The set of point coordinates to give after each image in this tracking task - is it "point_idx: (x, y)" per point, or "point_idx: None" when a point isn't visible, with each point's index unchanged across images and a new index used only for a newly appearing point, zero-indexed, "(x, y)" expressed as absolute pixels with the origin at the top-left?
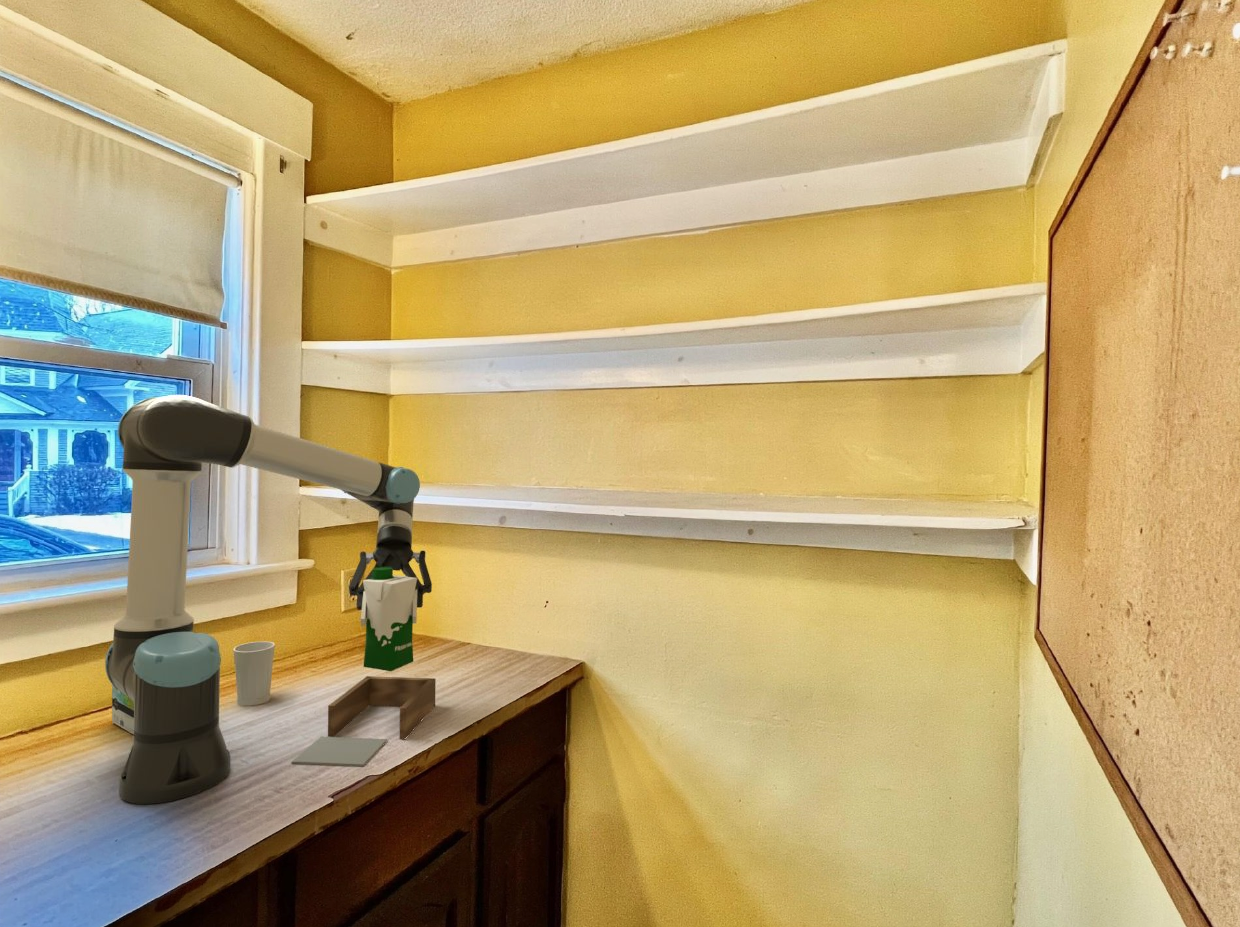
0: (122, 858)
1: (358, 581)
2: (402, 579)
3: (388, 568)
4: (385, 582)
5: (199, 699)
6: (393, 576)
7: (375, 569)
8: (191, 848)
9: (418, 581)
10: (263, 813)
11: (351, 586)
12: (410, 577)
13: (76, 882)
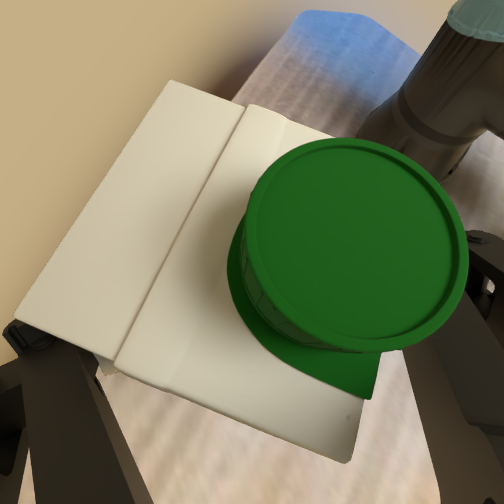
0: (348, 54)
1: (499, 300)
2: (139, 227)
3: (297, 256)
4: (237, 118)
5: (430, 43)
6: (254, 347)
7: (395, 154)
8: (306, 59)
9: (34, 380)
10: (278, 96)
11: (478, 232)
12: (82, 332)
13: (357, 35)
